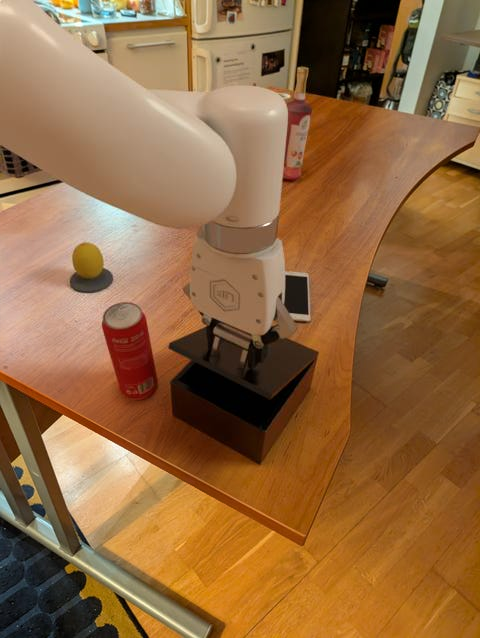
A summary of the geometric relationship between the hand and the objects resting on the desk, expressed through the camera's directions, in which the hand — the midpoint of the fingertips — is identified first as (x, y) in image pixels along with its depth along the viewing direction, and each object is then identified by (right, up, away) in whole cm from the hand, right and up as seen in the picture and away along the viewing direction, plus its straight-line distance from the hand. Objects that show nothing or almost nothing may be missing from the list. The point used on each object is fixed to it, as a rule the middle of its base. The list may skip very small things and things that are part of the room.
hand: (236, 352), depth 58 cm
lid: (+2, 0, +4) cm, 4 cm away
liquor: (+14, +44, +73) cm, 86 cm away
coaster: (-28, +12, +32) cm, 44 cm away
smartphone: (+10, +8, +31) cm, 34 cm away
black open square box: (+1, -8, +11) cm, 14 cm away
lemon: (-28, +12, +31) cm, 44 cm away
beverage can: (-15, -6, +12) cm, 20 cm away
